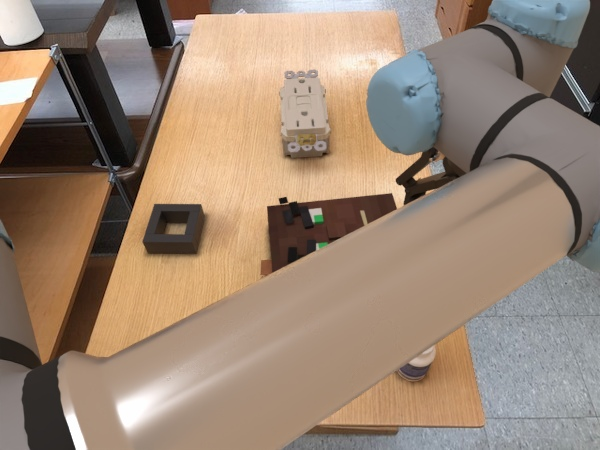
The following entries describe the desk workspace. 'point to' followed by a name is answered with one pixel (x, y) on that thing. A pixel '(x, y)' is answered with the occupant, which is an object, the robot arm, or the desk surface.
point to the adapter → (174, 242)
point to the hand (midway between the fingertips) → (446, 251)
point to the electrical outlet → (304, 115)
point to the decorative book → (317, 225)
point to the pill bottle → (418, 366)
